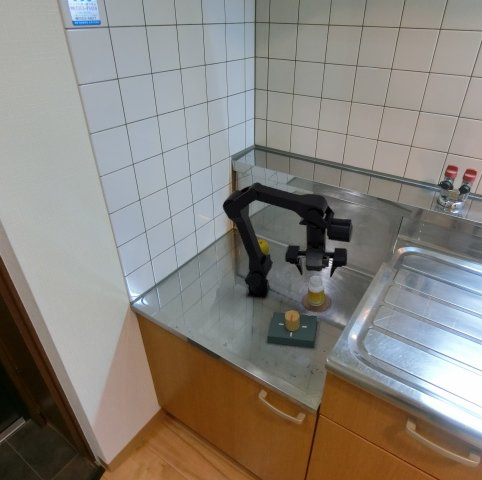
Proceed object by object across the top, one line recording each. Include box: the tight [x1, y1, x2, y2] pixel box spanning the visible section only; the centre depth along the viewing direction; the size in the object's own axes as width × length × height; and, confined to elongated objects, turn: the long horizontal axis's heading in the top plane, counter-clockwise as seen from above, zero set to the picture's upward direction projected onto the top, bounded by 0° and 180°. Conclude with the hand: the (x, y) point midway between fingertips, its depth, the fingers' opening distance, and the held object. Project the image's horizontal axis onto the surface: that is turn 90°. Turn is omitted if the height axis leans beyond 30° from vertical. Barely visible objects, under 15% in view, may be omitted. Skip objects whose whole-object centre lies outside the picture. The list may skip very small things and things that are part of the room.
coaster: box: [302, 293, 331, 313], centre depth 127 cm, size 9×9×1 cm
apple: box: [257, 238, 270, 255], centre depth 148 cm, size 6×6×8 cm
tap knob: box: [285, 309, 300, 331], centre depth 114 cm, size 4×4×5 cm
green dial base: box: [267, 311, 318, 348], centre depth 116 cm, size 14×10×3 cm
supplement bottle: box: [307, 275, 325, 306], centre depth 124 cm, size 5×5×10 cm
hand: (316, 275), depth 120 cm, fingers open, 9 cm apart
